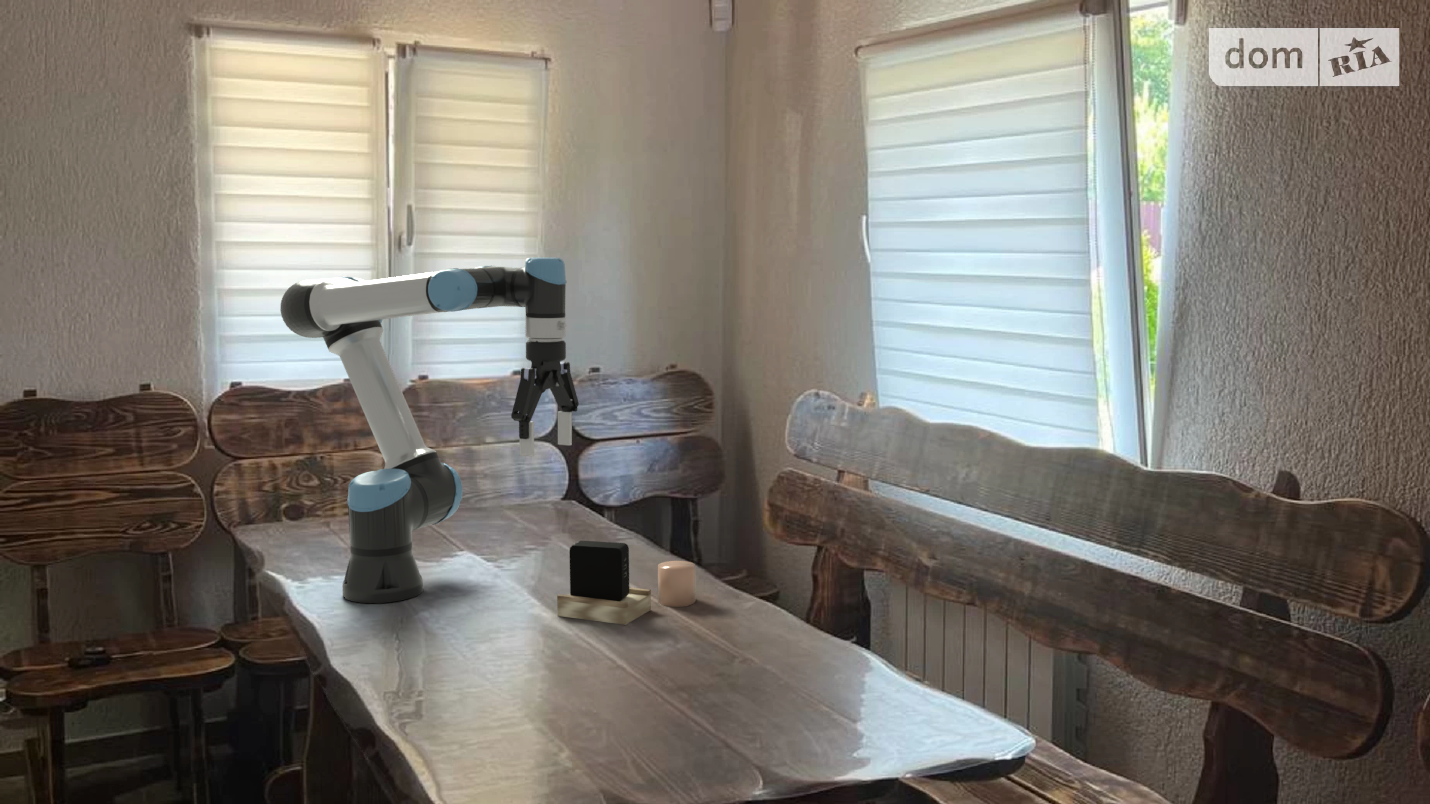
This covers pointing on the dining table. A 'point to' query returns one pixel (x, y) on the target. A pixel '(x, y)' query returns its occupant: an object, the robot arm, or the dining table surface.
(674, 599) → the peach rounded cylinder
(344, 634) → the dining table surface
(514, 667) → the dining table surface
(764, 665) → the dining table surface
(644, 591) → the stand
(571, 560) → the electronic device
